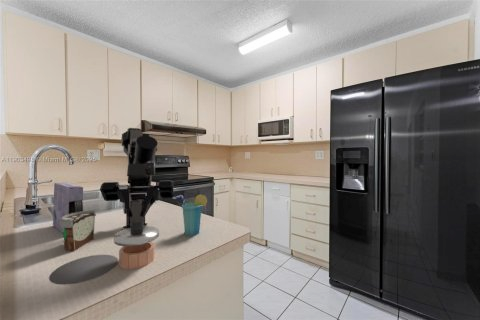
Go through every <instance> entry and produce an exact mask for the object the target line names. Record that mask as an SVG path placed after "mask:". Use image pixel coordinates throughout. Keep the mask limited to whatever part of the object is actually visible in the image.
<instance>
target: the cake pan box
mask: <svg viewBox="0 0 480 320" xmlns="http://www.w3.org/2000/svg"><path fill="white" fill-rule="evenodd" d="M53 184H54V185H53V209H52V210H53V211H52V220H53V221H52V226H53V227H55V228H56V229H57V230H58V231H59V232H61V233H63V228H62V227H60V226H59V224H60V220H61V219H62V217H63V216H65V215H68V214H71V213H76V212H81V211H84V201H83V200H84V187H83V186H80V185H76V184H74V183H72V182H68V181H67V182H64V181H63V182H54V183H53Z"/></svg>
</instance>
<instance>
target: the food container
mask: <svg viewBox="0 0 480 320" xmlns="http://www.w3.org/2000/svg"><path fill="white" fill-rule="evenodd" d="M96 216H97V213H96V210H83V211H81V212H76V213H71V214H68V215H65V216H63V217H62V219H61V220H60V224H59V226H60V227H62V228H63V232H62V235H63V243H64V245H63V246H64V249H65V251H69V252H76V251H77V250H79V249H80V248H81V247H83V246H85V245H86V244H87V243H89V242H91V241H92V240H94V239H95V223H96V222H95V221H96V220H95V219H96Z"/></svg>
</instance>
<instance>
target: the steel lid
mask: <svg viewBox="0 0 480 320" xmlns="http://www.w3.org/2000/svg"><path fill="white" fill-rule="evenodd" d="M159 236H160V231H159V228H157V227H155V226H149V225H145V226H144V217H143V200H132V201H130V228H124V229H123V230H120V231H117V232H116V233H115V234H113V244H114V245H117V246H119V247H123V246H136V245H142V244H145V243H148V242H153V241H155V240H156V239H158V238H159Z"/></svg>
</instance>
